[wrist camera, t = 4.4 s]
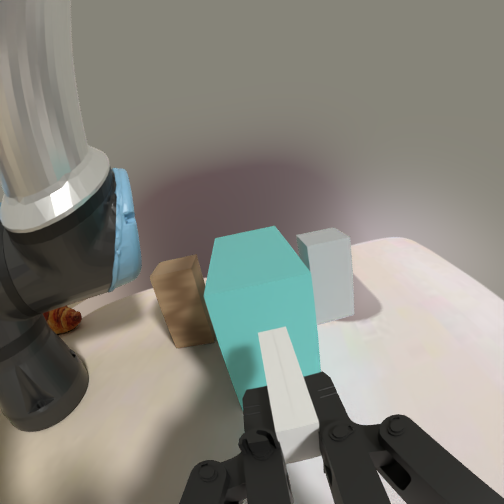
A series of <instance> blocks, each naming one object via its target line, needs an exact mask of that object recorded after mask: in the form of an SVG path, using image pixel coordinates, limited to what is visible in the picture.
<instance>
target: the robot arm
mask: <svg viewBox="0 0 504 504" xmlns="http://www.w3.org/2000/svg"><path fill="white" fill-rule="evenodd" d="M0 184H1V186H2V189H3V191H4V196H3V200H2V203H0V409H1V410H2V412H3V414H4V415H5V416H6V417H7V418H8V420H9V421H10V422H11V423H12V424H13V425H14V426H15V427H16V428H18V429H20V430H22V431H28V432H33V431H40V430H43V429H46V428H49V427H51V426H53V425H55V424H56V423H58V422H60V421H61V420H62V419H64V418H65V417H66V416H67V415H68V414H70V413H71V412H72V411H73V409H74V408H75V407H76V406H77V405H78V403H79V402H80V400H81V399H82V397H83V395H84V393H85V391H86V388H87V384H88V373H87V370H86V368H85V367H84V365H83V363H82V362H81V360H80V358H79V357H78V356H77V354H76V353H75V352H74V351H72V350H71V349H70V348H69V347H68V346H67V345H66V344H65V343H64V342H63V340H62V339H61V338H60V337H59V336H58V335H57V334H56V333H55V332H54V331H53V330H52V329H51V328H50V327H49V325H48V323H47V321H46V319H45V317H44V315H43V313H45V312H48V311H51V310H54V309H57V308H60V307H63V306H66V305H69V304H72V303H76V302H79V301H82V300H85V299H88V298H91V297H94V296H97V295H100V294H103V293H106V292H111V291H113V290H114V289H115V288H117V287H119V286H122V285H124V284H127V283H129V282H131V281H133V280H135V279H136V278H137V276H138V275H139V273H140V271H141V266H142V260H141V251H140V243H139V237H138V230H137V224H136V220H135V218H134V216H135V213H134V205H133V199H132V193H131V187H130V183H129V178H128V175H127V172H126V170H124V169H117V168H116V169H115V168H113V169H112V170H111V168H110V163H109V159H108V157H107V156H106V154H105V153H104V152H102V151H100V150H98V149H96V148H94V147H91V146H89V145H88V144H87V139H86V135H85V130H84V125H83V121H82V115H81V110H80V104H79V98H78V92H77V86H76V79H75V70H74V62H73V51H72V36H71V0H0ZM258 336H259V342H260V348H261V354H262V359H263V365H264V371H265V376H266V382H267V386H263V387H258V388H253V389H247V390H246V391H245V394H244V396H243V398H242V402H243V415H244V429H245V433H244V434H243V435H242V436H241V437H240V439H239V443H238V445H239V447H240V449H241V453H240V454H238V455H237V456H236V457H234V458H232V459H229V460H227V461H224V462H221V463H220V462H217V461H214V460H206V461H203V462H200V463H198V464H197V465H196V466H194V468H193V470H192V471H191V474H190V476H189V479H188V482H187V484H186V487H185V490H184V492H183V495H182V498H181V500H180V503H179V504H242V503H243V499H246V498H247V501H248V504H294V501H293V496H292V491H291V486H290V482H289V477H288V473H287V469H286V464H289V463H293V462H298V461H302V460H306V459H310V458H314V457H318V456H321V455H322V459H323V464H324V473H326V476H327V480H328V483H329V486H330V490H331V493H332V496H333V499H334V503H335V504H391V503H390V500H389V498H388V496H387V493H386V491H385V489H384V486H383V484H382V482H381V479H380V477H379V475H378V473H377V471H378V472H379V473H380V474H381V476H382V477H383V478H384V479H385V480H386V481H387V482H388V483H389V485H390V486H391V487H392V488H393V489H394V490H395V491H396V492H397V493H398V494H399V496H400V497H401V498H402V499H403V500H404V501H405V502H406V503H407V504H504V498H503V497H501V496H500V495H499V494H498V493H496V492H495V491H494V490H493V489H492V488H490V487H489V486H488V485H487V484H486V483H484V482H483V481H482V480H481V479H480V478H478V477H477V476H476V475H475V474H474V473H472V472H471V471H470V470H469V469H468V468H466V467H465V466H464V465H463V464H462V463H461V462H459V461H458V460H457V459H456V458H455V457H454V456H452V455H451V454H450V453H449V452H448V451H447V450H445V449H444V448H443V447H442V446H441V445H440V444H439V443H437V442H436V441H435V440H434V439H433V438H432V437H430V436H429V435H428V434H427V433H426V432H425V431H424V430H422V429H421V428H420V427H419V426H418V425H417V424H416V423H415V422H413V421H412V420H411V419H410V418H408V417H407V416H405V415H399V414H398V415H392V416H390V417H387V418H386V419H385V420H384V421H383V422H382V423H381V424H376V425H359V424H356V423H354V422H353V421H352V420H350V418H349V417H348V415H347V413H346V411H345V408H344V406H343V404H342V402H341V400H340V398H339V395H338V394H337V391H336V389H335V387H334V384H333V382H332V380H331V378H330V377H329V376H328V375H326V374H325V373H324V372H323V371H322V372H319V373H315V374H312V375H308V376H304V377H303V374H302V372H301V369H300V366H299V363H298V360H297V357H296V354H295V351H294V349H293V346H292V343H291V340H290V337H289V334H288V331H287V329H286V326H285V327H281V328H277V329H272V330H268V331H263V332H259V333H258Z"/></svg>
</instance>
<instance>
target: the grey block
mask: <svg viewBox="0 0 504 504" xmlns="http://www.w3.org/2000/svg"><path fill="white" fill-rule="evenodd" d="M296 238H297V244H298V251H299V258H300V259H301V260H302V262H303V263H304V264H305V266H306V267H307V268H308V269H309V271H310V272H311V276H312V284H313V293H314V302H315V311H316V321H317V325H319V324H323V323H327V322H330V321H334V320H338V319H341V318H344V317H348V316H352V315H354V290H353V270H352V255H351V243H350V237H349V236H347V235H346V234H344V233H342V232H341V231H339V230H337V229H336V228H329V229H324V230H319V231H314V232H310V233H305V234H300V235H296Z"/></svg>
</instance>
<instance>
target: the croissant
mask: <svg viewBox="0 0 504 504" xmlns="http://www.w3.org/2000/svg"><path fill="white" fill-rule="evenodd" d="M43 315H44V317H45V319H46V321H47V323H48V325H49V327H50V328H51V329H52V330H53V331H54V332H55V333H56V334H59V333H65V332H67V331H70V330H71V329H74V328H75V327H76V326H77V325H78V324H79V323H80V322H81V320H82V317H81V313H80V312H78V311H77V312H76V311H75V310H74V309H71V308H68V307H67V305H66V306H63V307H60V308H57V309H54V310H51V311H48V312H45V313H43Z"/></svg>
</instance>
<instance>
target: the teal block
mask: <svg viewBox="0 0 504 504" xmlns="http://www.w3.org/2000/svg"><path fill="white" fill-rule="evenodd" d="M204 299H205V302H206V306H207V309H208V312H209V315H210V318H211V322H212V325H213V328H214V331H215V334H216V337H217V340H218V343H219V346H220V349H221V352H222V355H223V358H224V361H225V364H226V367H227V370H228V372H229V375H230V378H231V381H232V384H233V386H234V389H235V392H236V395H237V397H238V400H239V403H240V405H241V408H242V410H243V402H242V398H243V396H244V394H245V391H246V390H247V389H253V388H258V387H263V386H267V382H266V376H265V371H264V365H263V359H262V354H261V348H260V342H259V336H258V333H259V332H263V331H268V330H272V329H277V328H281V327H285V326H286V329H287V331H288V334H289V337H290V340H291V343H292V346H293V349H294V351H295V354H296V357H297V360H298V363H299V366H300V369H301V372H302V374H303V377H304V376H308V375H312V374H315V373H319V372H321V369H320V355H319V343H318V332H317V321H316V311H315V302H314V293H313V284H312V276H311V272H310V271H309V269H308V268H307V267H306V266H305V264H304V263H303V262H302V260H301V259H300V258H299V256H298V255H297V254H296V253H295V251H294V250H293V249H292V247H291V246H290V245H289V243H288V242H287V241H286V240H285V238H284V237H283V236H282V235H281V233H280V232H279V231H278V230H277V228H276V227H275V226H271V227H267V228H262V229H257V230H252V231H248V232H244V233H238V234H234V235H229V236H224V237H220V238H216V239H215V242H214V247H213V252H212V256H211V262H210V266H209V271H208V276H207V281H206V286H205V291H204Z"/></svg>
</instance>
